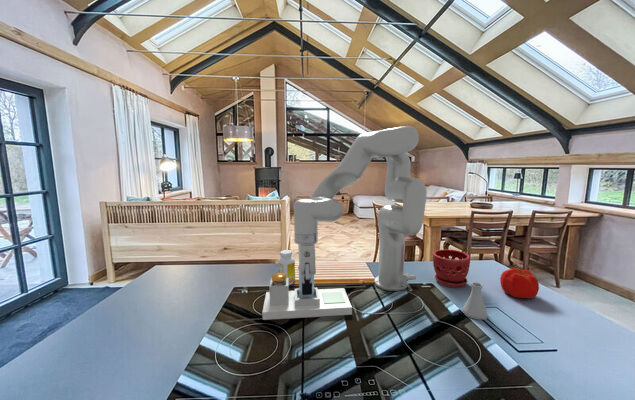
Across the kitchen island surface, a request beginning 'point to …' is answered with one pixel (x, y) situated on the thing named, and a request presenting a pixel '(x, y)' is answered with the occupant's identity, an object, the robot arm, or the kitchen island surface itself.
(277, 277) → the plunger
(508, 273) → the tomato
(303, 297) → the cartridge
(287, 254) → the supplement bottle
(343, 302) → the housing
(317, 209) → the robot arm
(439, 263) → the plant pot
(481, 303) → the flask
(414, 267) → the kitchen island surface
